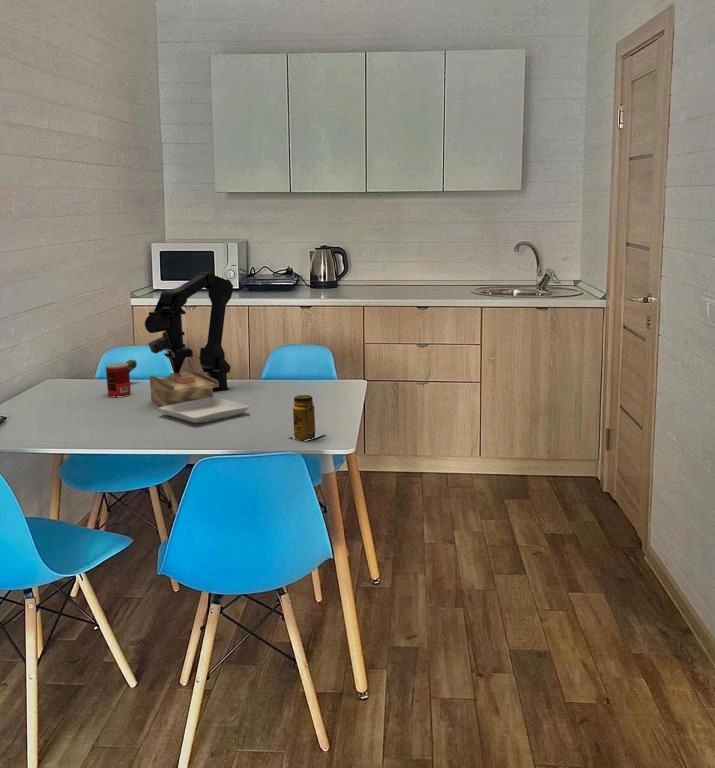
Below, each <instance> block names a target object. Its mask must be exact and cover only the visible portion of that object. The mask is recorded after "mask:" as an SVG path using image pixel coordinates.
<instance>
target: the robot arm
mask: <svg viewBox="0 0 715 768" xmlns="http://www.w3.org/2000/svg"><path fill="white" fill-rule="evenodd" d="M202 289H206V290H207V291H208V294H207V295H208V298H209V300H210V303H211V308H210V316H209V325H208V331H207V332H208V334H207V341H206V344H205V346H204V347H201V348H199V349H200V351H199V357H198V359H199V364H200V366H201V368H202V369H201V370H202V372H203V373H206V375H207V376H209V377H211V378H214V379H216V380H218V381H219V387H214V388H212V390H213V392H217V391H218V392H219V391H225V390H229V389H230V387H228V380H227V379H228V377H227V375H228V373H230V372H231V366H232V365H230V364H229V363H228V362H227V360H226V359H225V358H226V356H225V355H226V354H225V350H224V348H223V347H222V346H223V345H222V344H223V342H222V340H223V332H224V323H225V318H226V317H225V315H226V307H227V305H228V303H229V301H231V298H232V295H233V291H234V285H233V284H232V281H231V280H230V279H225V278H223V277H220V276H218V275H215V274H214V273H213V272H208V271H206V272H199V273H198V274H197V275H196V276H194V277H192V279H189V280H187V282H185V283H184V284H182V285H180V286H178V287H176V288H170V289H169V288H168V289H166V290H163V291H162V292H161V293H160V294H159V298H158V301H157V303H156V305H155V308H154V310H153V311H149V312H148V316H147V317H146V318H145V320H144V328H145V329H146V331H147V332H148V333H150V334H155V333H161V332H162V334H161V335H162V336H161V337H158V338H157V339H153V340H152V341H150V342H148V344H147V345H148V347H149V349H150V351H151V353H153V354H159V352H161V353H162V352H163V351H165V353H163V355H164V356H165V357H166V358H167V359H168V360H169V363H170V366H171V368H172V371H173V373H177V372H181V369H182V367H183V363H184V362H185V360H186V358H192V357H194V355H193V354H194V352H193V351H194V350H193V349H191V348H190V347H188V346H186V344H185V343H184V337H183V336H185V332H184V331H183V320H182V317H183V316H182V315H186V313H187V312H186V311H185V310H184V309H183V307H184V306H185V305H186V304H187V301H188V299H189V298H190V297H192V296H193V295H195V294H197V293H198V292H199V291H201V290H202Z"/></svg>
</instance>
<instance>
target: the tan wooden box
mask: <svg viewBox="0 0 715 768" xmlns="http://www.w3.org/2000/svg"><path fill="white" fill-rule="evenodd" d="M189 374H191V375H193V376H195V382H194V383H187V384H179V383H177V382H174V381H172V380H171V379H170V375H169V376H168V375H167V376H161V377H156V376H154V375H149V387H150V388H149V389H150V399H151V400H150V401H152V402H151V403H153V402H154V403H155V405H156V404H157V405H156V406H158V405H159V406H160V407H163V406H168V405H173V404H177V403H182V402H187V401H192V400H198V399H203V398H208V397H214V396H213V395H214V393H213V392H214V391H213V390H212V388H214V387H219V381H218V380H216V379H214V378H211V377H209V376H207V374H204V373H202V372H199V371H198V370H196V369H193V370H191V373H189ZM154 403H153V404H154ZM159 406H158V407H159Z"/></svg>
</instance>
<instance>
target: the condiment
mask: <svg viewBox="0 0 715 768" xmlns="http://www.w3.org/2000/svg"><path fill="white" fill-rule="evenodd" d="M313 400H314V399H313V396H312V395H309V394H301V395H300V394H298V395H295V396H294V397H293V407H292V414H293V415H292V416H293V436H295V437H294V438H295V439H298V440H297V441H299V440H307V439H312V438H314V437H315V433H316V420H315V419H316V418H315V417H316V416H315V414H316V413H315V406H314V401H313ZM324 436H325V434H323V436H322V437H324ZM295 439H294V440H295ZM304 442H306V441H304ZM306 443H307V442H306Z"/></svg>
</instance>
